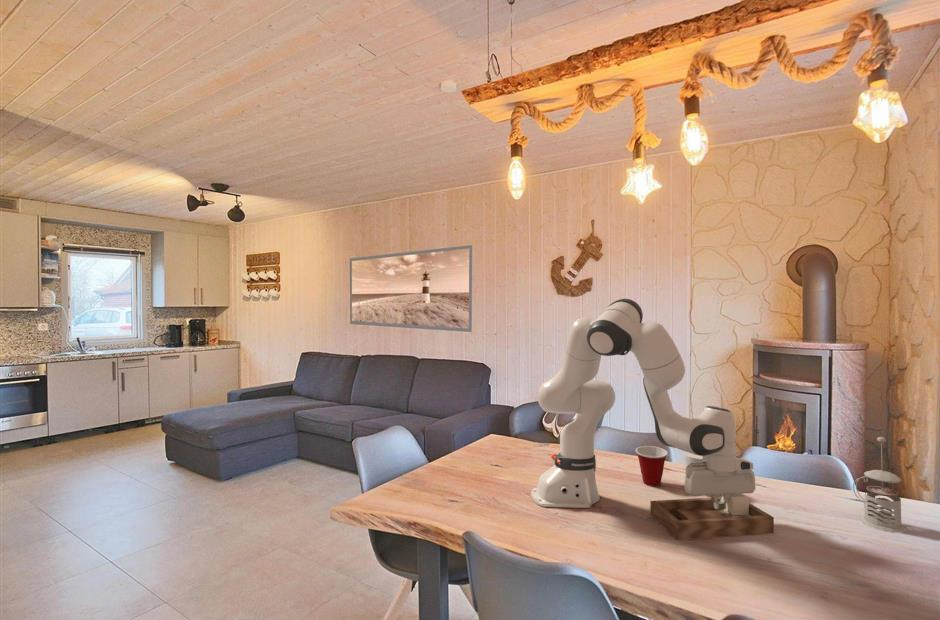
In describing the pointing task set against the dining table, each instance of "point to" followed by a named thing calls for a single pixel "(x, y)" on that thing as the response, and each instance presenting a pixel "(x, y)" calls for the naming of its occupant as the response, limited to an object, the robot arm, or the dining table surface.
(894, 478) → the french press
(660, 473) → the plastic cup
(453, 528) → the dining table surface
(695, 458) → the beige cylinder
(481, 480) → the dining table surface
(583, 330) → the robot arm
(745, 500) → the block
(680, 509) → the box
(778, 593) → the dining table surface
